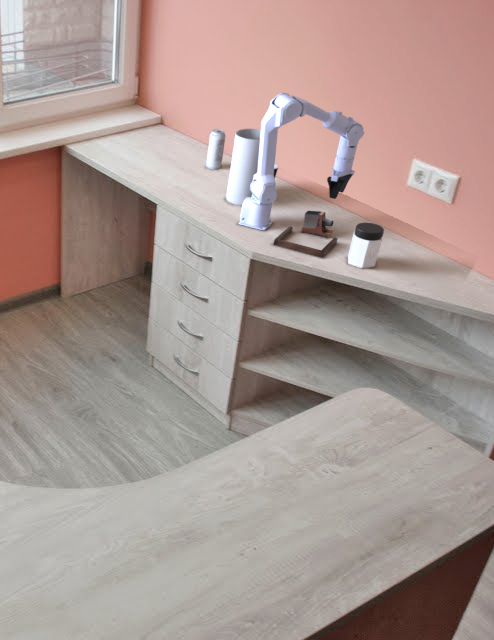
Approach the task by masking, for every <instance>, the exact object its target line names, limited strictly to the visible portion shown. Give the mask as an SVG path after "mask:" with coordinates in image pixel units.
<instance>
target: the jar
mask: <svg viewBox="0 0 494 640" xmlns="http://www.w3.org/2000/svg"><path fill="white" fill-rule="evenodd" d="M384 233H385V228H384V227H383V226H382V225H380V224H378V223H374V222H359V223H357V224H356V225H355V229H354V231H353V234H352V239H351V242H350V246H349V250H348V254H347V263H348V265H350V266H354V267H356V268H360V269H368V268H369V269H370V268H375V267H376V264H377V260H378V257H379V253H380V249H381V246H382V243H383V236H384Z"/></svg>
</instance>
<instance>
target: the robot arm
mask: <svg viewBox="0 0 494 640" xmlns="http://www.w3.org/2000/svg"><path fill="white" fill-rule="evenodd" d="M304 116H309V117H312V118H313V119H316V120H318V121H319V122H322V126H323V128H325V129H327V130H329V131H331V132H333V133H335V134H337V135H340V138H339V141H338V145H337V151H336V155H335V160H334V164H333V167H332V171H331V173H332V174H331V176H328V177H327V178H326V181H327V184H328V190H329V191H328V195H329V198H330V199H331V200H332V199H333V200H336V199H337V198H338V196H339V194H340V193H342V194H343V193H344V192H345V190H346V187H347V185H348V183H349V182H350V180H351V178H352V177H353V176H354V175H355V172H356V171H355V170H354V169H353V165H354V161H355V156H356V153H357V148H358V145H359V143H360V142H359V141H360V140H361V139H362V138H363V136H364V135H365V131H364V127H363V125H362V124H361V123H359V122H358V121H356V120H355V119H354V118H353V117H351V116H349V117H348V116H346V115H343V112H342V111H341V110H330V111H326V110H324V109H322V108H320V107H319V106H317V105H315V104H313V103H311V102H309V101H308V100H305V99H303V98H301V97H299V96H296V95H290V94H289V93H287V92H281V93H279V94H277V95H276V96H274V97H273V98H272V99H271V100H270V102H269V107H268V109H267V110H266V113H265V115H264V116H263V118H262V119H261V123H260V129H261V134H260V146H259V158H258V170H257V173H256V174H255V175H254V177H253V181H252V183H251V185H250V191H251V192H252V197H247V198H246V199H245V200H244V202H243V205H242V206H241V209H240V217H239V221H238V225H239V226H240V225H241V226H245V227H248V228H252V229H256V230H259V231H263V232H264V231H265V230H267V229H268V228H269V227H270V226H272V225H273V223H274V222H273V221H271V220H270V218H271V213H272V207H273V203H274V202H275V201H276V200H277V197H278V189H277V187H276V186H277V185H276V184H277V181H276V177H275V178H274V165H275V164H276V154H277V143H278V133H279V129H280V128H281V127H282V126H285V125H287V124H289V123H291V122H293V121H296V119H298V118H299V117H300V118H303V117H304Z"/></svg>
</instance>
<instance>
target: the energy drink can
mask: <svg viewBox="0 0 494 640" xmlns="http://www.w3.org/2000/svg"><path fill="white" fill-rule="evenodd" d="M208 141H209V142H208V147H207V155H206V162H205V166H206V168H207V169H208V170H212V171H214V170H215V171H216V170H220V168H221V167H222V163H223V156H224V149H225V142H226V133H225V130H224V129H220V128H214V129H212V130H211V132H210V134H209V140H208Z"/></svg>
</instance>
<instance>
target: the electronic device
mask: <svg viewBox="0 0 494 640" xmlns="http://www.w3.org/2000/svg"><path fill="white" fill-rule="evenodd" d="M333 225H334V220H331V219H328V218H327V217H326V211H321V210H319V211H318V210H307V211H306V212H305V213H304V217H303V222H302V226H301V229H300V232H301V233H306V234H310V235H311V234H312V235H316V236H322V237H324V238H325V239H328V237H330V236H331V235H332V234H333V233H334V230H333V229H329V228H327V227H333Z"/></svg>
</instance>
